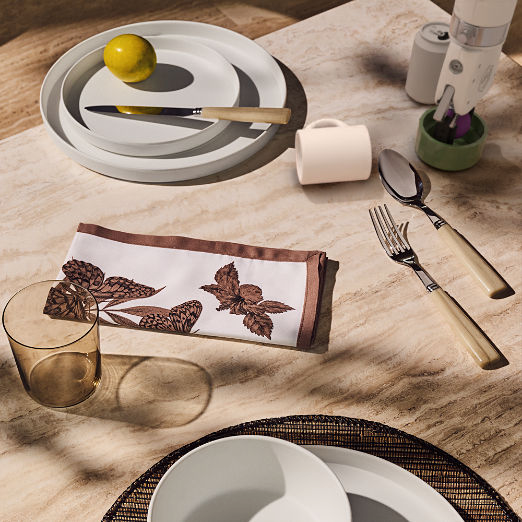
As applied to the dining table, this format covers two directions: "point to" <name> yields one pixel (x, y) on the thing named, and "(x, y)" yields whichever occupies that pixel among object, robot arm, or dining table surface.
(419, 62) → the can
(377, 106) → the dining table surface
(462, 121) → the ball
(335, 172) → the mug
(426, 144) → the bowl
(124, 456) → the dining table surface
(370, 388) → the dining table surface
